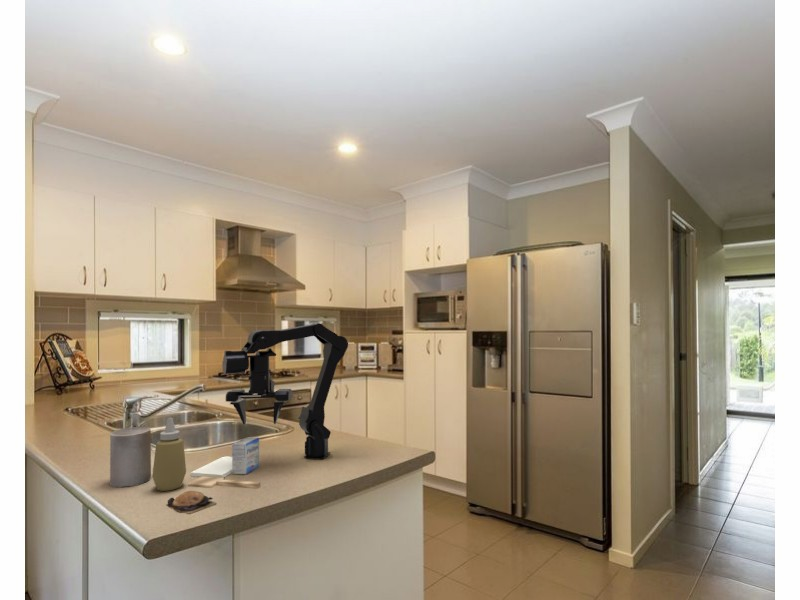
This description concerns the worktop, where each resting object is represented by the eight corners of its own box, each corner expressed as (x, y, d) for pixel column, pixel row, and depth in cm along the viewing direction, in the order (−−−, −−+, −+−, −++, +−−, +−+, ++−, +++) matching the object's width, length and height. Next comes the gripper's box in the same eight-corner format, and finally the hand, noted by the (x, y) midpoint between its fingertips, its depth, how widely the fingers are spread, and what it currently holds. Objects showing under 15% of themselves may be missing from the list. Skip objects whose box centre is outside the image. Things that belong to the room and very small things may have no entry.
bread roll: (219, 506, 112) (220, 490, 112) (186, 518, 105) (186, 501, 105) (194, 496, 118) (194, 481, 118) (161, 507, 111) (161, 491, 111)
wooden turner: (264, 483, 126) (264, 479, 126) (252, 491, 120) (252, 487, 120) (202, 478, 130) (202, 474, 130) (187, 486, 124) (187, 482, 124)
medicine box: (245, 475, 133) (246, 444, 133) (231, 474, 134) (231, 443, 134) (259, 466, 140) (259, 437, 141) (246, 465, 141) (246, 436, 142)
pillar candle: (137, 473, 135) (137, 420, 135) (158, 478, 130) (158, 424, 130) (102, 484, 126) (102, 428, 127) (122, 490, 122) (122, 431, 122)
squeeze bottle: (163, 495, 118) (164, 422, 118) (145, 489, 122) (146, 419, 123) (192, 485, 124) (193, 416, 125) (174, 480, 129) (175, 413, 129)
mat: (252, 461, 145) (252, 458, 145) (221, 478, 130) (222, 474, 130) (224, 459, 148) (224, 456, 148) (190, 476, 132) (190, 472, 132)
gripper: (296, 368, 150) (297, 417, 149) (238, 369, 150) (238, 418, 149) (287, 372, 138) (288, 426, 138) (224, 373, 139) (224, 426, 138)
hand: (259, 424), depth 141 cm, fingers open, 9 cm apart
